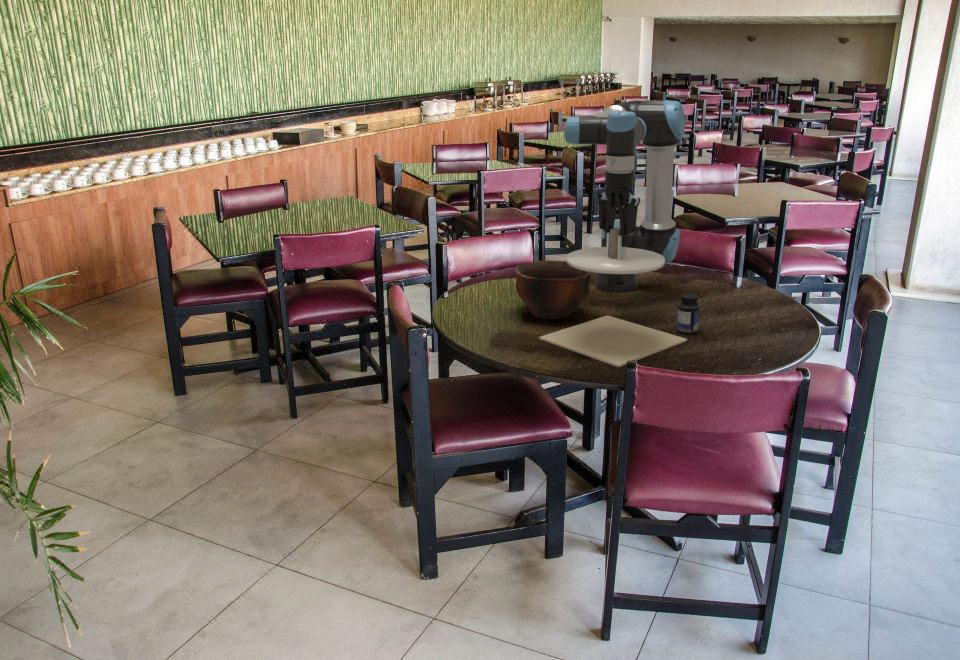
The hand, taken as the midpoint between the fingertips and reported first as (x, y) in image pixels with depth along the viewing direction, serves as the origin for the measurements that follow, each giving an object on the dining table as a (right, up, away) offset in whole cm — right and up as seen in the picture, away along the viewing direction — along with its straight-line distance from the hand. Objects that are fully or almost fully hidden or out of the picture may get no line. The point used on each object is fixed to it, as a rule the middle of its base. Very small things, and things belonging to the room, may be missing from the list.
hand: (615, 256), depth 213 cm
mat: (+1, -23, +8) cm, 25 cm away
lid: (0, -1, 0) cm, 1 cm away
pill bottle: (+24, -21, +14) cm, 35 cm away
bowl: (-15, -15, +32) cm, 39 cm away
